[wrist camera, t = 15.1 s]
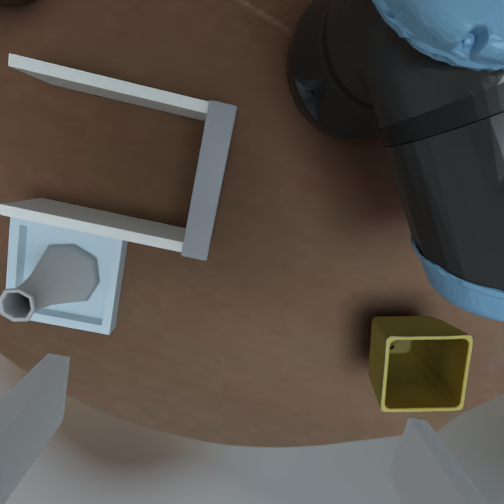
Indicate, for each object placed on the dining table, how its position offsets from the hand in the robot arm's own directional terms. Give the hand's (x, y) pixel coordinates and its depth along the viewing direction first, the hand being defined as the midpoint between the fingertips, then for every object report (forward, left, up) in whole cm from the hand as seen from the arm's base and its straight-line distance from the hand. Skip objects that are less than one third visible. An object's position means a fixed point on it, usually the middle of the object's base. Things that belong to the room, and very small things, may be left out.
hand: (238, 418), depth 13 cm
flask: (+7, -19, -28) cm, 35 cm away
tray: (+7, -19, -29) cm, 35 cm away
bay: (-7, -14, -29) cm, 33 cm away
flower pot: (+7, +21, -29) cm, 36 cm away
